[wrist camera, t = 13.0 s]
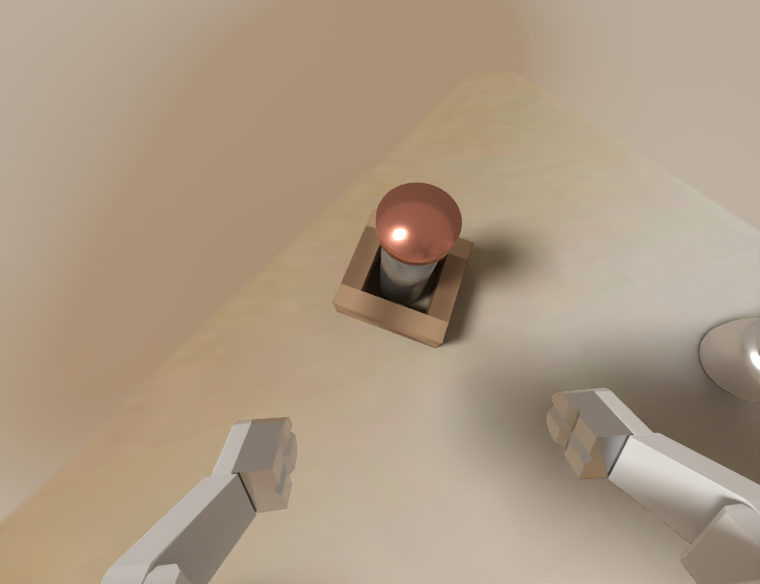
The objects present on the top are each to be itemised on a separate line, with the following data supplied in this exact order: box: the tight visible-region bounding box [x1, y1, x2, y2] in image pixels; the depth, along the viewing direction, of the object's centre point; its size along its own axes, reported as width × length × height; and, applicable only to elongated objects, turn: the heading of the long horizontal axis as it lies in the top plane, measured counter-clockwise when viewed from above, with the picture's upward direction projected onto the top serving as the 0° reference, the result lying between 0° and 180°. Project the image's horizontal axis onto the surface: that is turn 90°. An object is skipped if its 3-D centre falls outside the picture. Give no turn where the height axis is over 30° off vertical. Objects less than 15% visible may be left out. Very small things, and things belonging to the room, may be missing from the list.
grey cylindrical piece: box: [376, 183, 462, 305], centre depth 22 cm, size 5×5×11 cm
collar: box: [333, 209, 473, 348], centre depth 26 cm, size 9×9×3 cm
